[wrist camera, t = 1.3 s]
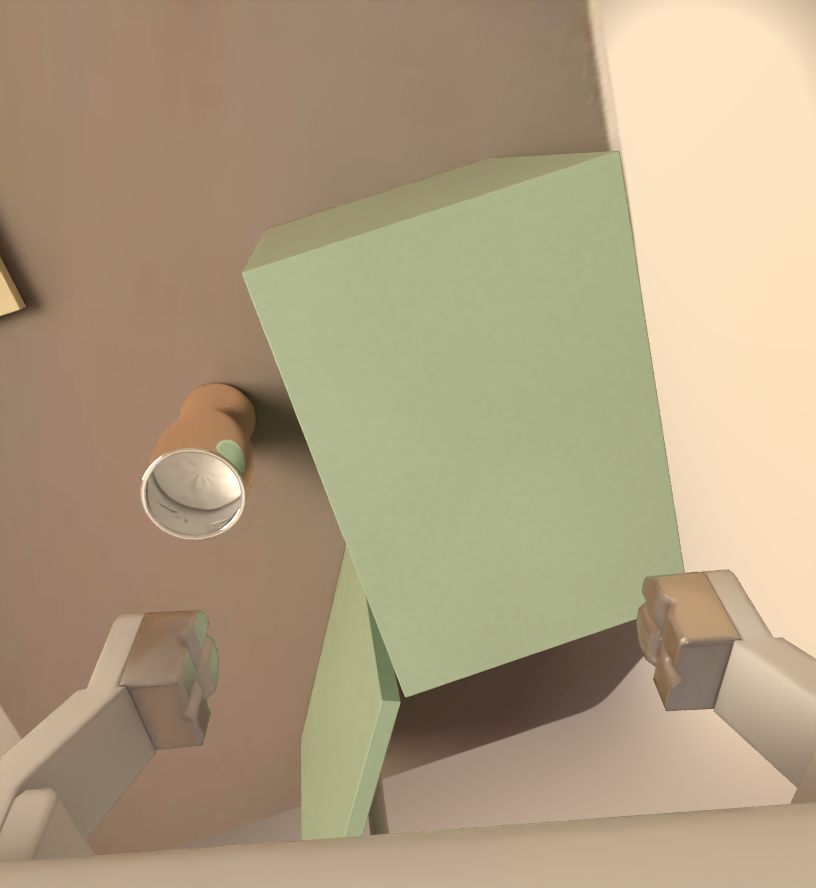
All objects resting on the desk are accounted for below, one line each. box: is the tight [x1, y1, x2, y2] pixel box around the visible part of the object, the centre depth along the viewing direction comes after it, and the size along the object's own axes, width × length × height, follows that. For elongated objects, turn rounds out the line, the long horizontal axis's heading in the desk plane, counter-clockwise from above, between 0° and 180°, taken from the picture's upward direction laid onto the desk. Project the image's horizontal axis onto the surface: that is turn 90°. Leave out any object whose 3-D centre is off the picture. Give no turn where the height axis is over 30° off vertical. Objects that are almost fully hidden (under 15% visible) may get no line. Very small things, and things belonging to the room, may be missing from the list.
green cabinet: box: [242, 151, 685, 697], centre depth 47 cm, size 18×26×24 cm
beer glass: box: [140, 384, 256, 540], centre depth 51 cm, size 7×7×15 cm
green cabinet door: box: [301, 545, 401, 840], centre depth 57 cm, size 7×26×24 cm, turn 166°
